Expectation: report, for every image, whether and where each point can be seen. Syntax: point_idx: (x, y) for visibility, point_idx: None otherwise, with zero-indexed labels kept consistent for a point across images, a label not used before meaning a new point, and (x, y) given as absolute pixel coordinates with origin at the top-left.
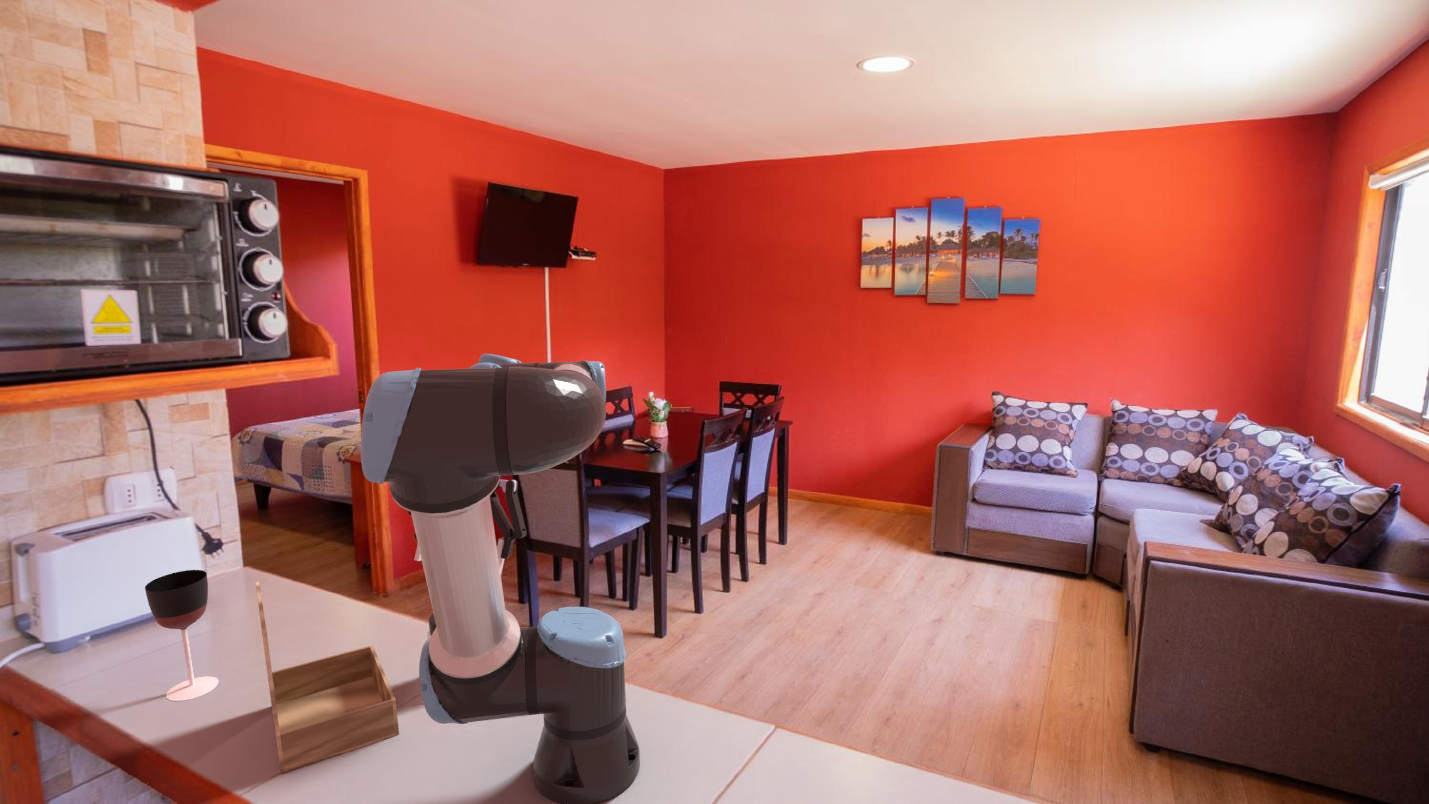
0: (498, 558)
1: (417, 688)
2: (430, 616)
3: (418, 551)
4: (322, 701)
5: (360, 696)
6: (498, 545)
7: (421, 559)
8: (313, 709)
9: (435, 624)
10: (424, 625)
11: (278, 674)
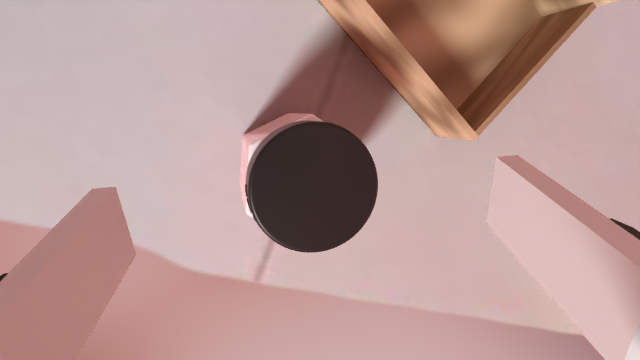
0: (38, 247)
1: (341, 114)
2: (374, 168)
3: (531, 174)
4: (475, 37)
5: (423, 64)
6: (1, 303)
7: (493, 186)
8: (475, 12)
9: (335, 128)
10: (446, 310)
11: (580, 12)
